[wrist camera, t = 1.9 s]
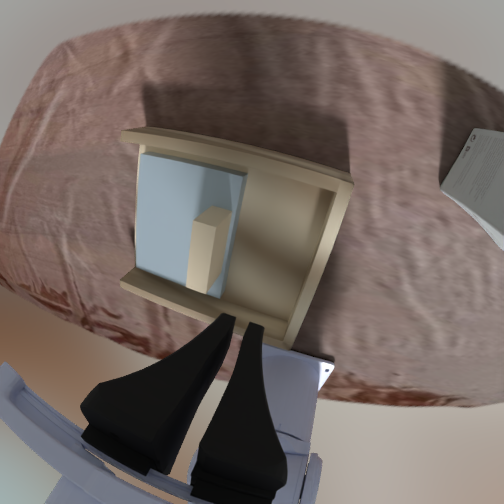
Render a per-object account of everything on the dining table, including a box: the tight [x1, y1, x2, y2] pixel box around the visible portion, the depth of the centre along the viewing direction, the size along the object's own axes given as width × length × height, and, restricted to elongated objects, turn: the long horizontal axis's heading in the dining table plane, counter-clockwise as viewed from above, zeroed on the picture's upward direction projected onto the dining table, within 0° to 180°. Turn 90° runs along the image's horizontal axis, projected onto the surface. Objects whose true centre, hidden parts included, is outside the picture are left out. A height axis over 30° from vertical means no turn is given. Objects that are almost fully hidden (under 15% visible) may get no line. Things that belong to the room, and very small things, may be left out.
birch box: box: [120, 127, 354, 351], centre depth 21 cm, size 14×16×4 cm
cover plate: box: [136, 151, 248, 299], centre depth 20 cm, size 10×8×4 cm
